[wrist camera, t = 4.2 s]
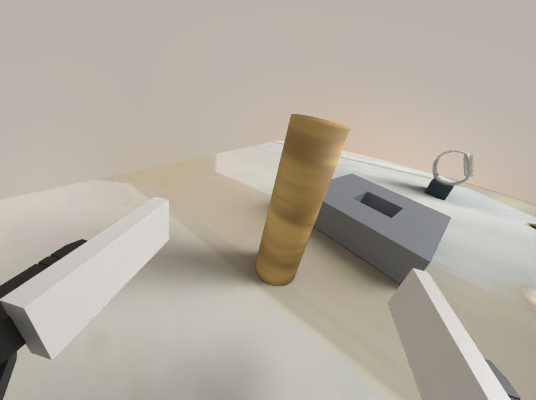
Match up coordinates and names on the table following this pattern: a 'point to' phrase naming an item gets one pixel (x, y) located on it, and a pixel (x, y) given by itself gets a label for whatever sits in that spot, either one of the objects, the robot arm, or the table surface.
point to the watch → (443, 187)
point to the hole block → (380, 225)
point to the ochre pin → (298, 195)
